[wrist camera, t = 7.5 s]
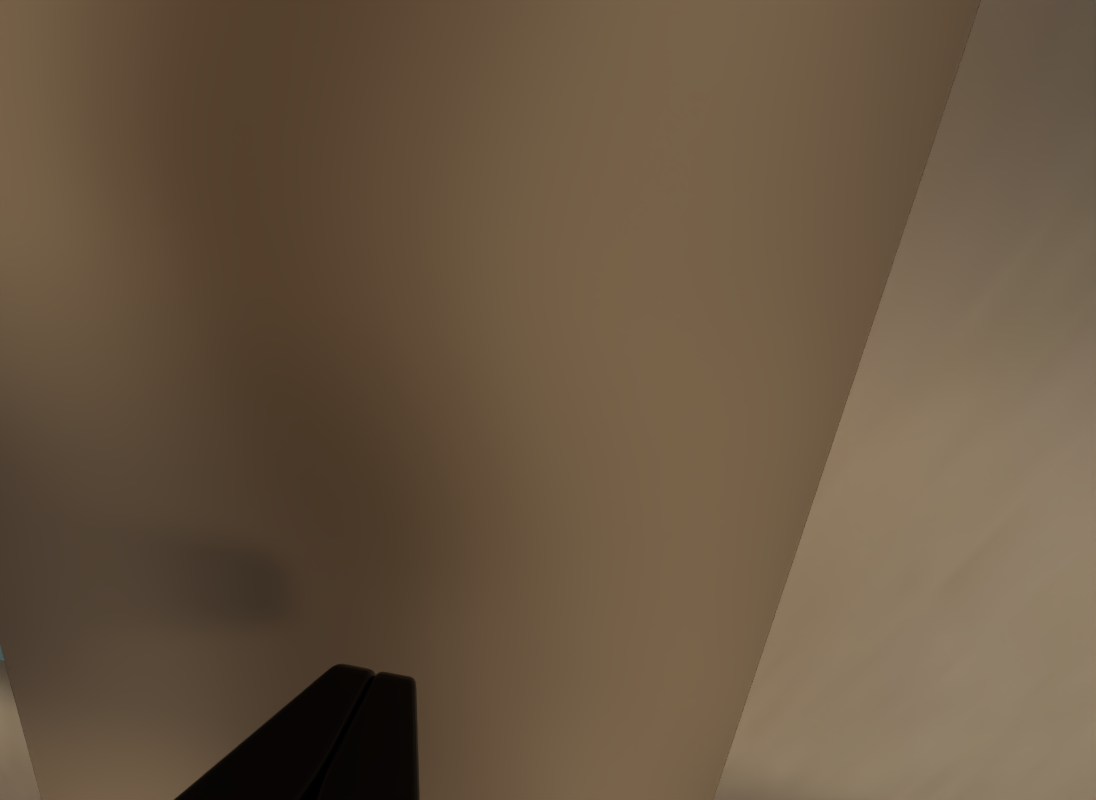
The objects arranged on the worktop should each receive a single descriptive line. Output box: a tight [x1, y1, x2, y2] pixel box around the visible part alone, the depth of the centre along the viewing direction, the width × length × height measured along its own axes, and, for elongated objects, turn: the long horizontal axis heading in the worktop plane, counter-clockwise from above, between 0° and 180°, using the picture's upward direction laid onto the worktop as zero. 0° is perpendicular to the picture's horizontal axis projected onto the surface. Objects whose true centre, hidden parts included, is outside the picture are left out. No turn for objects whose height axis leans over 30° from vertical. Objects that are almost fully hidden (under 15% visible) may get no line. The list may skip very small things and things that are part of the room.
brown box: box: [0, 0, 981, 800], centre depth 11 cm, size 10×16×4 cm, turn 173°
